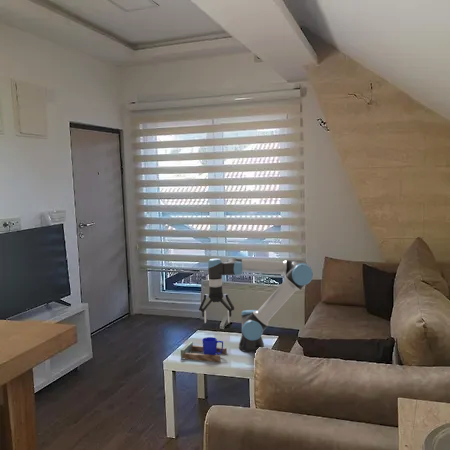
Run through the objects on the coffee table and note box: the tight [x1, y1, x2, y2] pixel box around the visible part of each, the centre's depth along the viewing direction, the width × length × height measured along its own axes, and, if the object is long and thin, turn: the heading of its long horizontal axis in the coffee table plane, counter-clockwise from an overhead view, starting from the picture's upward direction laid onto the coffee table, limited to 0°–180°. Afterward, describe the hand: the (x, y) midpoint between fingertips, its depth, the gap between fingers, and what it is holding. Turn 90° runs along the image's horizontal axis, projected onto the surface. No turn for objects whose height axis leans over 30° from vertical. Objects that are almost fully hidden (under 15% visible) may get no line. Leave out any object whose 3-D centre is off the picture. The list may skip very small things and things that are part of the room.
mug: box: [202, 336, 224, 355], centre depth 272 cm, size 8×12×10 cm
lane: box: [180, 341, 227, 363], centre depth 273 cm, size 23×15×5 cm, turn 75°
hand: (217, 322), depth 271 cm, fingers open, 13 cm apart
